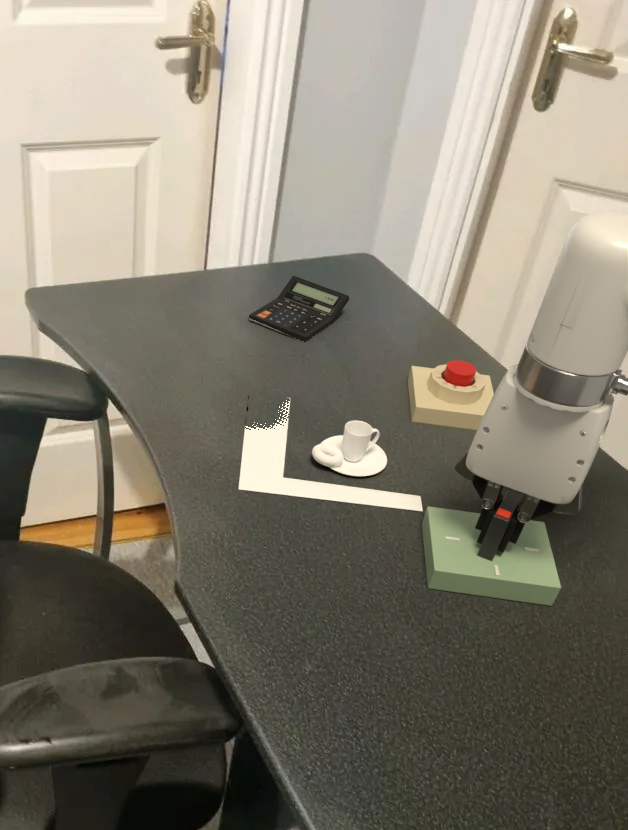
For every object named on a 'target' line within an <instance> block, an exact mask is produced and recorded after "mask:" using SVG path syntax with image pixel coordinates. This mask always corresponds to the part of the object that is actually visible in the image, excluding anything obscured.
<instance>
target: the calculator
mask: <svg viewBox="0 0 628 830" xmlns="http://www.w3.org/2000/svg"><path fill="white" fill-rule="evenodd" d="M349 301H350V296H349V295H348V294H346V293H342V292H339V291H337V290H333V289H331V288H329V287H326V286H323V285H321V284H317V283H315V282H312V281H310V280H307V279H304V278H301V277H298V276H296V275H292V276H291V278H290V279H289V281H288V282H287V284H286V285H285V286H284V288H283V289H282V290H281V292H280V293H279V295H277V297H276V298H275V299H273V300H270V301H269V302H268V303H266V304H265V305H263V306H261V307H260V308H258V309H257V310H255V311H253V312H251V313H250V314H249V315H248V319H249V318H251V319H253V320H256V321H258V322H260V323H263V324H266V325H268V326H270V327H272V328H274V329H277V330H279V331H281V332H283V333H285V334H288V335H290V336H292V337H294V338H296V339H295V340H297V339H299V340H301V341H300V342H302V341H304V342H305V343H307V342H309V341H310V340H312V339H313V338H314V337H316V336H317V335H319V334H320V333H321V332H323V331H324V330H326V329H327V328H329V327H330V326H331V325H333V324H334V322H335V320H336V319H337V318H338V316H339V315H340V314H341V312H342V311H343V309H344V308H345V307H346V306H347V304H348V302H349ZM329 325H330V326H329ZM328 326H329V327H328ZM325 328H326V329H325ZM322 330H323V331H322ZM319 332H320V333H319ZM316 334H317V335H316ZM315 335H316V336H315ZM313 336H314V337H313ZM312 337H313V338H312ZM299 340H298V341H299ZM306 341H307V342H306ZM304 342H303V343H304Z"/></svg>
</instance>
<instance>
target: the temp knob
mask: <svg viewBox="0 0 628 830" xmlns="http://www.w3.org/2000/svg"><path fill="white" fill-rule="evenodd" d="M523 497H524V495H523V493H522V494H521V493H519V492H517V491H515V490H512V489H511V490H510V489H507V491H506V493H505V494H504V496H503V499H502V501H501V503H500V505H499V507H498V508H497V510H496V512H495V514H494V516H493V518H492V520H491V523H490V525H489V527H488V530H487V532H486V535H485V537H484V540H483V542H482V544H481V547H480V549H479V552H478V554H477V555H478V556H481V557H483V558H486V559H488V560H491V561H492V560H493V558H494V556H495V554H496V552H497V551H498V547H499V545H500V543H501V540H502V538H503V536H504V534H505V531H506V529H507V527H508V524H509V522H510V520H511V518H512V516H513V514H514V512H515V511H516V509H517V507H518V506H519V504H520V503H521V501H522V499H523Z"/></svg>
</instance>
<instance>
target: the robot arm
mask: <svg viewBox="0 0 628 830" xmlns="http://www.w3.org/2000/svg"><path fill="white" fill-rule="evenodd" d="M534 319H535V320H534V323H533V325H532V328H531V330H530V333H529V335H528V338H527V340H526V343H525V346H524V347H523V351H522V353H521V356H520V359H519V361H518V363H517V364H516V363H515V364H513V365H511V366H510V367H509V368H508V369H507V371H506V372H505V374H504V375H503V377H502V379H501V380H500V382H499V383H498V386H497V388H496V389H495V391H494V395H493V397H492V399H491V401H490V403H489V405H488V408H487V410H486V412H485V414H484V416H483V418H482V421H481V423H480V425H479V427H478V430H476V432H475V434H474V437H473V439H472V442H471V444H470V447H469V448H468V449H467V450H466V451H465V452H464V453H463V455H462V456H461V457H460V458H459V459H458V461H457V463H456V464H455V466H454V470H455V472H456V473H458V474H459V475H460V476H462V477H463V478H464V479H465V480H467V481H468V482H469V481H470V482H471V483H472V486H473V488H474V489H475V491H476V493H477V494H478V496H479V498H480V500H481V501H480V502H481V503H480V505H481V507H482V509H481V512H480V517H479V519H478V522H477V524H476V527H475V529H478V530H481V532H480V535H479V537H478V540H477V543H480V544H482V542H483V540H484V537H485V535H486V532H487V530H488V527H489V525H490V523H491V520H492V518H493V516H494V514H495V512H496V510H497V508H498V507H499V505H500V503H501V501H502V500H503V498H504V496H503V494H502V492H503V489H504V487H505V488H508V489H511V490H512V491H515V492H518V493H519V492H520V493H522V494H525V495H526V497H525V499H524V501H522V502H520V504H519V506H518V507H517V509H516V511H515V512H514V514H513V516H512V518H511V520H510V522H509V524H508V527H507V529H506V531H505V534H504V536H503V538H502V540H501V543H500V545H499V547H498V549H499V550H498V551H500V552H504V550H505V548H506V546H507V544H508V542H512V543H514V544H516V542H517V540H518V538H519V536H520V534H521V532H522V530H523V527H524V525H525V523H527V522H529V521H530V520H533V519H535V518H539V517H542V516H545V515H548V514H551V513H556V514H564V515H577V514H578V513H579V512H580V510H581V508H582V505H583V489H584V487H583V486H584V481H585V479H586V478H587V476H588V474H589V471H590V469H591V467H592V465H593V464H594V463H593V462H594V460H595V458H596V455H597V453H598V450H599V449H600V446H601V443H602V440H603V438H604V437H605V434H606V432H607V428H608V425H609V422H610V419H611V415H612V411H613V408H614V407H613V406H614V402H615V397H614V395H618V394H620V395H624V396H628V377H627V375H625V374H622V372H623V369H621V367H622V363H623V362H624V360H625V358H626V356H627V353H628V212H623V211H612V210H611V211H610V210H609V211H595V212H592V213H589V214H586V215H583V216H582V217H581V218H579V219H578V220H577V221H575V223H574V224H573V225H572V227H571V228H570V230H569V231H568V233H567V236H566V238H565V240H564V242H563V246H562V248H561V251H560V253H559V256H558V259H557V262H556V264H555V266H554V270H553V272H552V274H551V277H550V280H549V282H548V285H547V288H546V291H545V293H544V295H543V299H542V301H541V304H540V306H539V309H538V312H537V314H536V317H535V318H534Z"/></svg>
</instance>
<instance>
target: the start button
mask: <svg viewBox="0 0 628 830" xmlns="http://www.w3.org/2000/svg"><path fill="white" fill-rule="evenodd" d="M446 364H447V365H446V369H445V372H444V375H443V379H444V380H445V381H446V382H447V383H450V384H452V385H455V386H461V387H467V386H471V385H472V383H473V380H474V377H475V374H476V371H477V368H476V367H475V366H474V365H473V364H472V363H470V362H468V361H465V360H450V361H448V362H447V363H446Z"/></svg>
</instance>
